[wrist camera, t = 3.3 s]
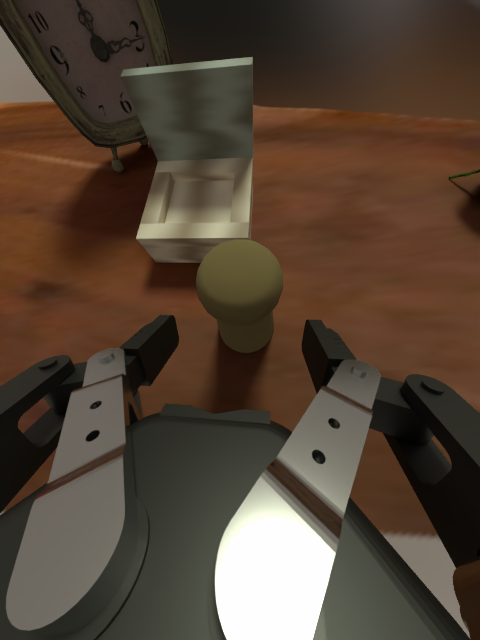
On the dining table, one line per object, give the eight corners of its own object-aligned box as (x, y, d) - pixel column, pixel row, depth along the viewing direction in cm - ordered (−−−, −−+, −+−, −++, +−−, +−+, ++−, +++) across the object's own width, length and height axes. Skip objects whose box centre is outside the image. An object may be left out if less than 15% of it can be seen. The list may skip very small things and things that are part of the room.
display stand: (253, 185, 26) (252, 56, 16) (249, 262, 22) (244, 161, 12) (173, 187, 27) (123, 69, 17) (156, 262, 23) (76, 168, 13)
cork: (231, 362, 19) (202, 342, 8) (211, 313, 21) (166, 246, 10) (283, 338, 19) (319, 291, 9) (259, 292, 21) (264, 206, 10)
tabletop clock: (112, 183, 29) (-572, -756, 5) (103, 150, 31) (-361, -548, 8) (196, 151, 29) (-41, -785, 6) (180, 122, 32) (-25, -587, 9)
